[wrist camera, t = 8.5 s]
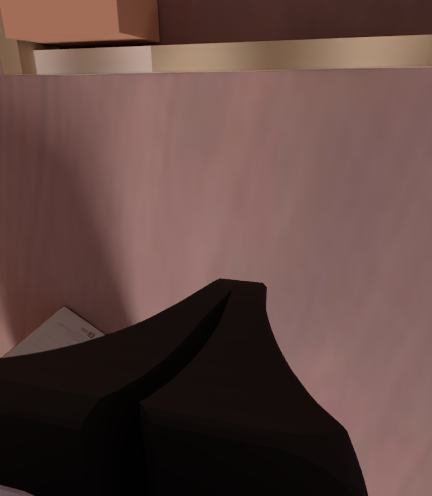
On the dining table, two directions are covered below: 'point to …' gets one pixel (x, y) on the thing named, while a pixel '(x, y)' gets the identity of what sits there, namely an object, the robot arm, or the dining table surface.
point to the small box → (56, 334)
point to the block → (81, 21)
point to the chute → (216, 56)
